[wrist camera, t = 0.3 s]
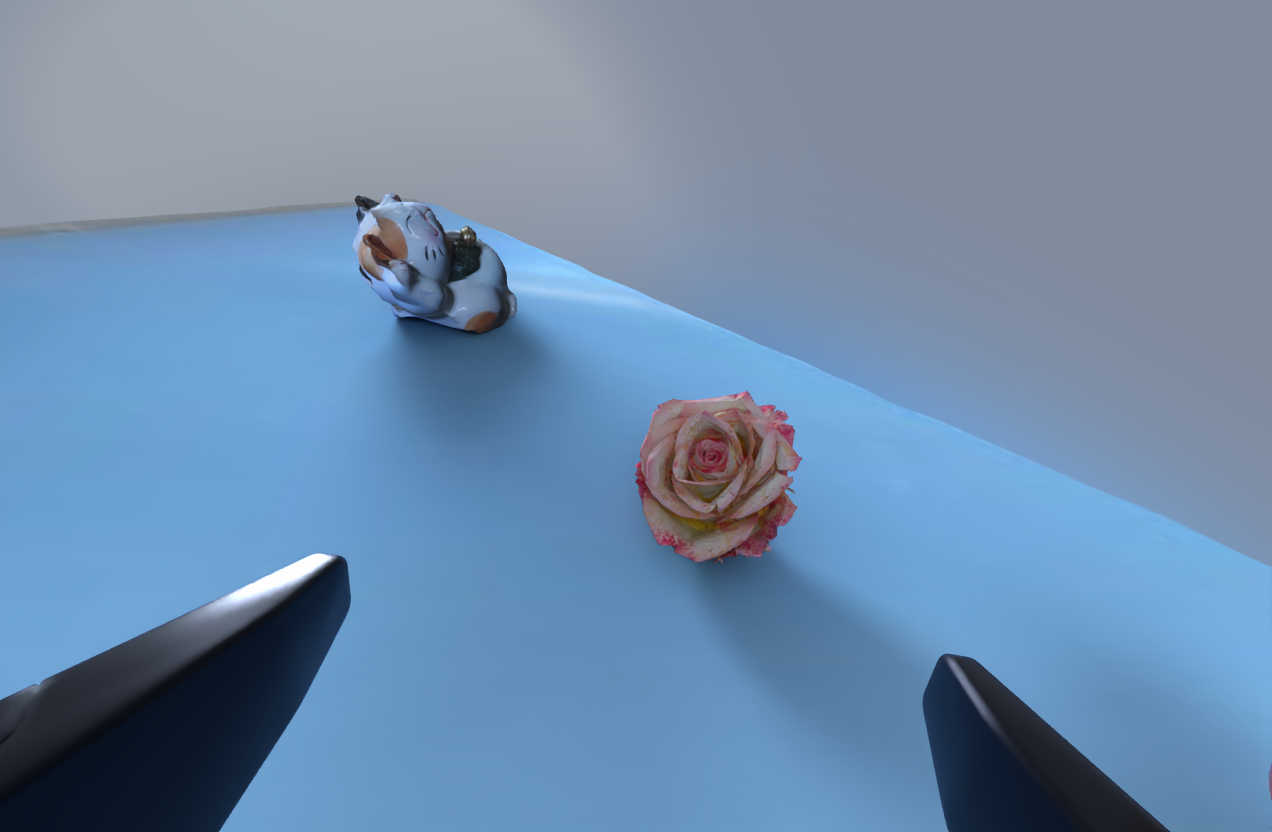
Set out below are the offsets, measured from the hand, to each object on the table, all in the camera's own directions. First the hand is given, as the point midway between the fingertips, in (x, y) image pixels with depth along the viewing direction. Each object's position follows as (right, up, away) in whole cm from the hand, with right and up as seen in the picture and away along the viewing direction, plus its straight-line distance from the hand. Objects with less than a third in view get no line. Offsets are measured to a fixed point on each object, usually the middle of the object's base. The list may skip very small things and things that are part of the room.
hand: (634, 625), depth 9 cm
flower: (+4, -4, +27) cm, 27 cm away
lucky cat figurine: (-20, +13, +53) cm, 58 cm away
